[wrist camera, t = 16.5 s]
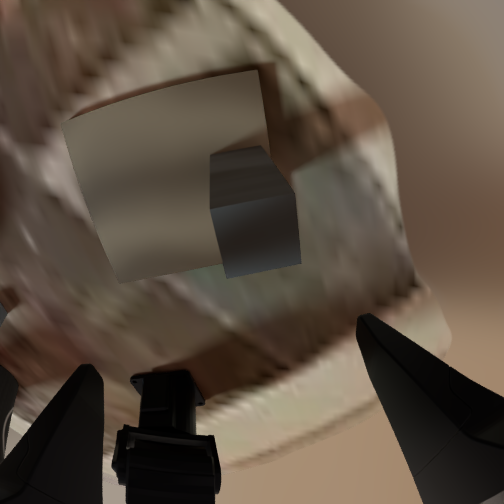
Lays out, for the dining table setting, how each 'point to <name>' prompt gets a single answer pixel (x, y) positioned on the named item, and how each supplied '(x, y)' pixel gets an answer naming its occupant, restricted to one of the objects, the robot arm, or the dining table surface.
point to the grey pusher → (185, 181)
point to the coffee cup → (6, 406)
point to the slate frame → (2, 314)
